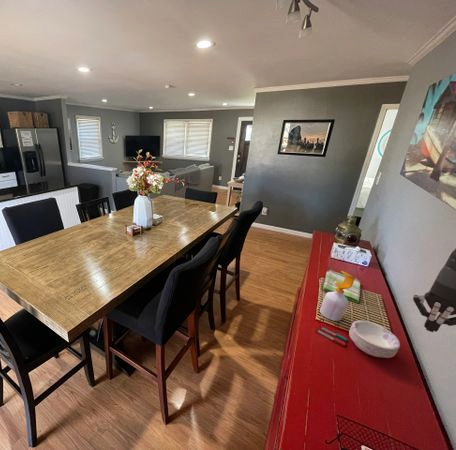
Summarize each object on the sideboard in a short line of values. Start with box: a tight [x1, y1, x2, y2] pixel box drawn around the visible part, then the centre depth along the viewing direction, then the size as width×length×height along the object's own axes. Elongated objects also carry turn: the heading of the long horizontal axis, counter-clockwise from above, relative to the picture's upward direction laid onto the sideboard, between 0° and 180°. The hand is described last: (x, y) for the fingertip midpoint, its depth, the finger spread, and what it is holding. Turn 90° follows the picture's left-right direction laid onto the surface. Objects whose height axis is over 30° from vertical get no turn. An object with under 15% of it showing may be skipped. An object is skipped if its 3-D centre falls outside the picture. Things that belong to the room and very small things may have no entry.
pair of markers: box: [317, 329, 346, 347], centre depth 105 cm, size 10×2×1 cm, turn 43°
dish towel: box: [322, 269, 361, 304], centre depth 139 cm, size 17×23×4 cm
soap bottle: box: [319, 270, 356, 322], centre depth 114 cm, size 9×9×25 cm
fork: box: [320, 326, 348, 343], centre depth 107 cm, size 9×2×1 cm, turn 43°
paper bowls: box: [348, 319, 401, 359], centre depth 100 cm, size 15×15×8 cm
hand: (429, 329), depth 75 cm, fingers closed
